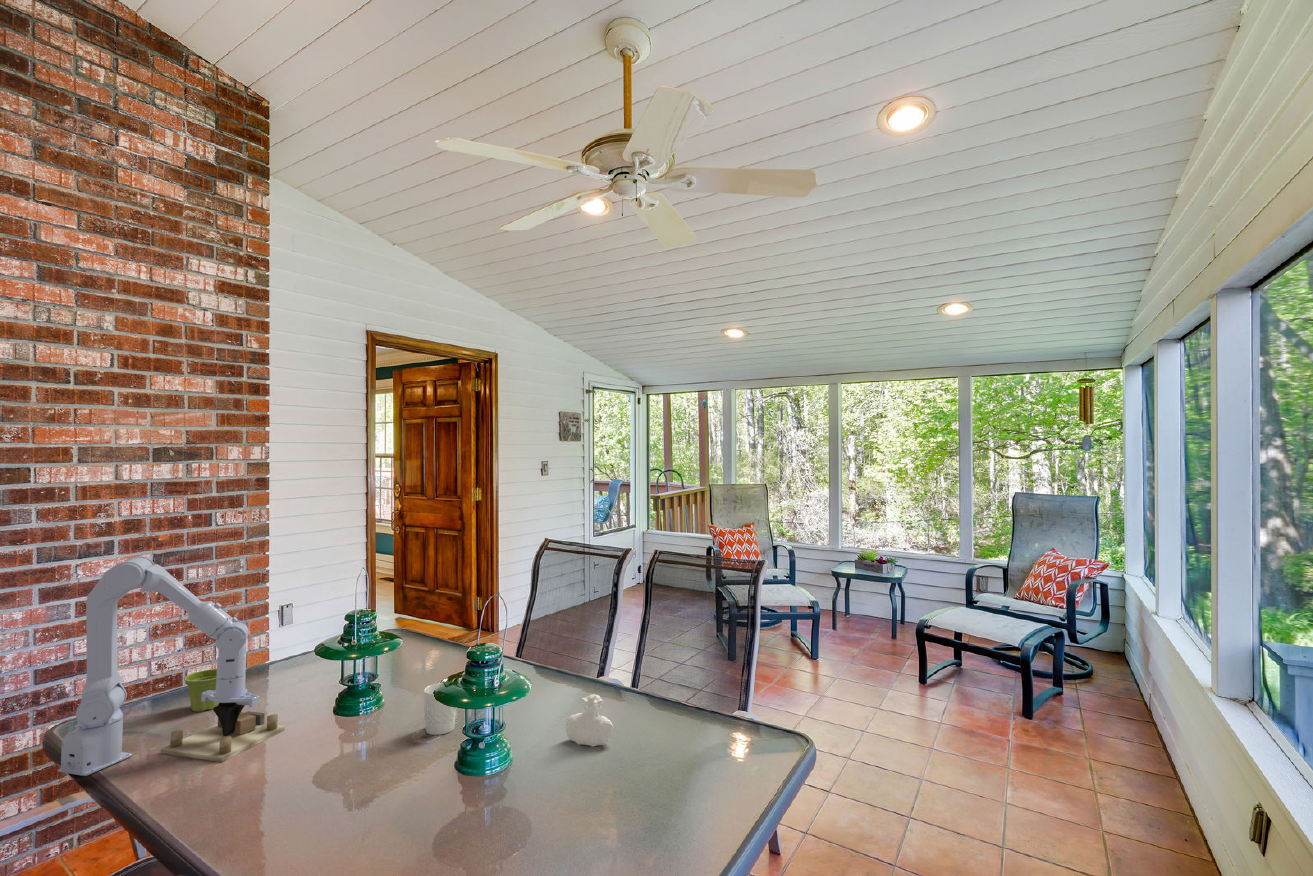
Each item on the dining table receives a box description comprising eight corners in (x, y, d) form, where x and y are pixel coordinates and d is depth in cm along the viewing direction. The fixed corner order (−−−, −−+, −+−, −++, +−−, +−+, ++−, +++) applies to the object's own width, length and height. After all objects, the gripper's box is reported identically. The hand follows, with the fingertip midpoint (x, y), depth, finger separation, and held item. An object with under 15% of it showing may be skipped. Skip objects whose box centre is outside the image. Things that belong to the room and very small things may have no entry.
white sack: (613, 753, 146) (624, 704, 153) (604, 744, 141) (615, 693, 148) (567, 746, 150) (579, 698, 157) (556, 737, 144) (569, 688, 151)
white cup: (462, 723, 157) (462, 683, 158) (448, 737, 149) (449, 694, 150) (432, 721, 158) (432, 682, 158) (417, 735, 150) (418, 693, 150)
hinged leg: (214, 725, 152) (214, 710, 152) (229, 720, 155) (229, 705, 155) (240, 734, 147) (240, 719, 147) (255, 729, 150) (255, 713, 150)
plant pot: (210, 715, 161) (211, 681, 162) (174, 714, 161) (175, 680, 162) (235, 701, 171) (236, 669, 171) (201, 700, 171) (202, 668, 171)
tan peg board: (222, 762, 136) (223, 743, 136) (160, 753, 140) (161, 735, 140) (285, 729, 153) (285, 713, 153) (228, 722, 156) (228, 706, 157)
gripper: (270, 672, 149) (268, 730, 148) (221, 667, 152) (218, 724, 151) (245, 682, 142) (242, 743, 141) (194, 677, 145) (191, 736, 145)
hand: (228, 734), depth 146 cm, fingers closed, pressing on hinged leg
